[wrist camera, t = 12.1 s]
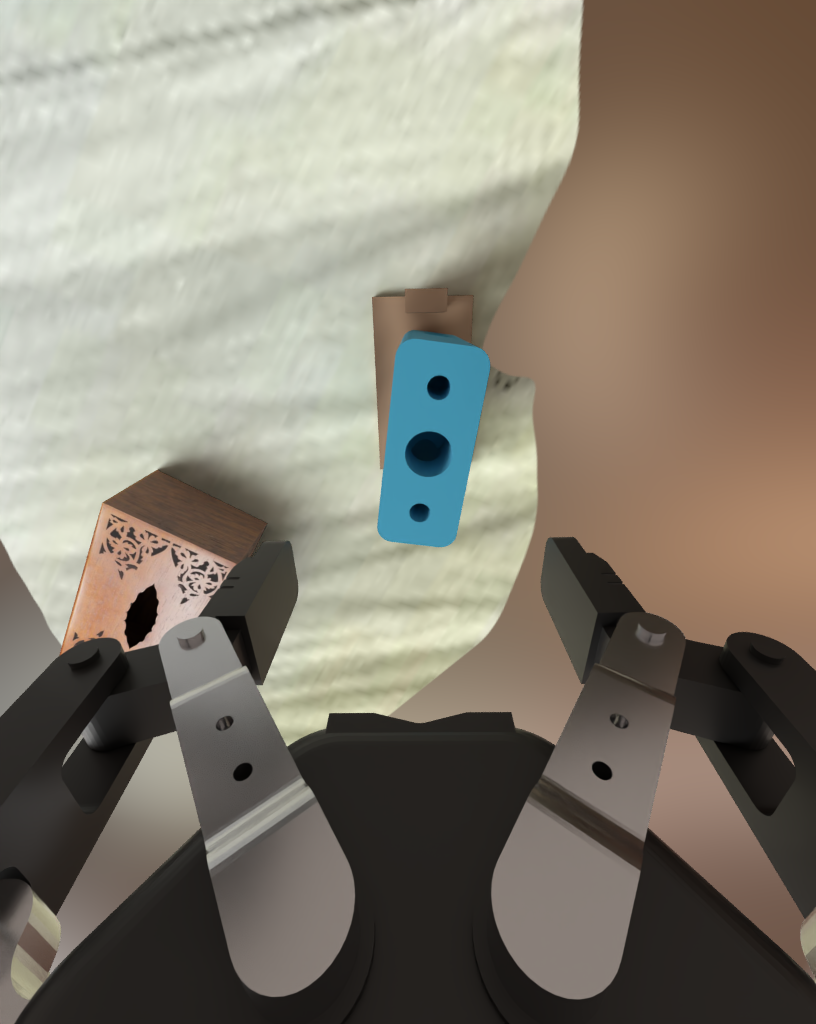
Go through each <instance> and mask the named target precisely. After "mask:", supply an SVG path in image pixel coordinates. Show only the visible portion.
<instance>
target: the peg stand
mask: <svg viewBox="0 0 816 1024" xmlns="http://www.w3.org/2000/svg"><path fill="white" fill-rule="evenodd" d="M447 291H448V288H432V289H405V296H402V297H372V305H373V325H374V346H375V367H376V388H377V409H378V430H379V451H380V469H383V468H384V459H385V449H386V440H387V430H388V420H389V411H390V401H391V392H392V382H393V373H394V363H395V355H396V351H397V349H398V347H399V345H400V343H401V341H402V339H403V337H404V335H405V334H406V333H407V332H408V331H411V330H420V331H427V332H434V333H441V334H449V335H454V336H457V337H459V338H461V339H463V340H465V341H467V342H469V343H471V336H472V315H473V295H457V296H447Z"/></svg>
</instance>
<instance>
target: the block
mask: <svg viewBox="0 0 816 1024" xmlns="http://www.w3.org/2000/svg"><path fill="white" fill-rule="evenodd" d="M489 372H490V360H489V358H488V355H487V354H486V353H485V351H483V350H482V349H480V348H478V347H476V346H475V345H473V344H471V343H469V342H467V341H465V340H463V339H461V338H459V337H457V336H454V335H449V334H441V333H434V332H427V331H420V330H411V331H408V332H407V333H406V334H405V335H404V337H403V339H402V341H401V343H400V345H399V347H398V349H397V351H396V355H395V363H394V373H393V382H392V392H391V401H390V411H389V420H388V430H387V440H386V449H385V459H384V468H383V478H382V487H381V497H380V506H379V516H378V525H377V528H378V532H379V534H380V536H381V537H382V538H383V539H385V540H387V541H391V542H399V543H407V544H416V545H425V546H433V547H445V546H448V545H450V544H451V543H452V542H453V541H454V540H455V538H456V535H457V530H458V525H459V520H460V515H461V510H462V505H463V500H464V495H465V490H466V485H467V480H468V475H469V471H470V466H471V461H472V456H473V451H474V446H475V441H476V436H477V431H478V426H479V421H480V416H481V411H482V406H483V401H484V397H485V392H486V387H487V382H488V377H489Z"/></svg>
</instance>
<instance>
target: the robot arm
mask: <svg viewBox="0 0 816 1024" xmlns="http://www.w3.org/2000/svg"><path fill="white" fill-rule="evenodd" d="M541 592H542V597H543V600H544V602H545V605H546V607H547V609H548V611H549V613H550V616H551V618H552V620H553V622H554V624H555V627H556V629H557V631H558V633H559V635H560V638H561V640H562V642H563V644H564V647H565V649H566V651H567V653H568V655H569V658H570V660H571V662H572V664H573V666H574V669H575V671H576V673H577V675H578V678H579V680H580V682H581V684H585V685H584V687H583V689H582V691H581V693H580V696H579V698H578V700H577V702H576V704H575V706H574V708H573V710H572V713H571V715H570V717H569V719H568V721H567V723H566V725H565V727H564V730H563V732H562V734H561V736H560V738H559V740H558V742H557V744H556V746H555V745H554V744H552V743H551V742H549V741H547V740H546V739H544V738H542V737H540V736H538V735H535V734H533V733H531V732H528V731H525V730H522V729H518V728H515V726H514V722H513V718H512V714H511V712H481V713H480V712H475V713H474V712H468V713H467V712H466V713H462V714H459V715H454V716H450V717H446V718H442V719H438V720H434V721H431V722H426V723H414V722H409V721H405V720H401V719H396V718H392V717H388V716H384V715H380V714H376V713H329V718H328V723H327V727H326V729H323V730H320V731H317V732H314V733H311V734H309V735H307V736H305V737H303V738H301V739H299V740H297V741H295V742H294V743H292V744H291V745H289V746H288V747H287V746H286V744H285V742H284V740H283V738H282V736H281V734H280V732H279V730H278V728H277V726H276V724H275V722H274V720H273V718H272V716H271V714H270V712H269V710H268V708H267V706H266V704H265V702H264V700H263V698H262V696H261V694H260V692H259V690H258V688H257V686H256V685H263V683H264V680H265V678H266V675H267V673H268V670H269V668H270V665H271V663H272V660H273V658H274V656H275V653H276V651H277V648H278V646H279V643H280V641H281V638H282V636H283V633H284V631H285V628H286V626H287V623H288V621H289V618H290V616H291V613H292V611H293V608H294V606H295V604H296V601H297V596H298V580H297V575H296V569H295V563H294V557H293V552H292V546H291V544H290V542H289V541H264V542H263V543H262V545H261V546H260V548H259V549H258V551H257V552H256V554H255V555H254V557H246V558H245V559H244V560H242V561H241V562H239V563H238V564H237V565H235V566H234V567H233V568H232V570H231V571H230V572H229V574H228V575H227V577H226V580H224V581H223V582H222V584H221V585H220V589H217V591H216V592H215V594H214V595H213V596H212V598H211V599H210V601H209V602H208V604H207V605H206V606H205V608H204V609H203V611H202V612H201V613H200V615H199V616H198V617H196V618H192V619H189V620H186V621H183V622H181V623H179V624H177V625H175V626H174V627H172V628H171V629H170V630H169V631H167V632H166V633H165V634H164V635H163V637H162V638H161V640H160V642H159V644H157V645H153V646H149V647H145V648H140V649H136V650H132V651H128V652H124V650H123V648H122V645H121V643H120V642H119V641H118V640H117V639H114V638H97V639H92V640H89V641H86V642H83V643H81V644H78V645H76V646H74V647H72V648H70V649H69V650H67V651H66V652H64V653H63V654H61V655H60V656H59V657H58V658H56V659H55V660H54V661H53V662H52V663H51V664H50V666H49V667H48V668H47V669H46V670H45V671H44V672H43V673H42V674H41V675H40V676H39V677H38V678H37V679H36V680H35V681H34V682H33V683H32V684H31V686H30V687H29V688H28V689H27V690H26V691H25V692H24V693H23V694H22V695H21V696H20V697H19V698H18V699H17V700H16V701H15V702H14V703H13V704H12V706H10V708H9V709H8V710H7V711H6V712H5V713H4V714H3V715H2V716H1V717H0V1024H816V671H815V670H814V669H813V668H812V667H811V666H810V665H809V664H808V663H807V662H806V661H805V660H804V659H803V658H802V657H801V656H800V655H799V654H797V653H796V652H795V651H794V650H792V649H791V648H789V647H788V646H786V645H784V644H783V643H781V642H779V641H777V640H774V639H772V638H769V637H766V636H763V635H759V634H756V633H750V632H738V633H734V634H731V635H730V636H729V637H728V638H727V640H726V643H725V645H724V647H720V646H714V645H710V644H705V643H700V642H695V641H691V640H687V639H685V636H684V634H683V633H682V632H681V630H680V629H679V628H678V627H677V626H676V625H674V624H673V623H671V622H670V621H668V620H666V619H664V618H662V617H660V616H657V615H654V614H650V613H646V612H645V611H644V609H643V608H642V607H641V605H640V604H639V603H638V601H637V600H636V599H635V598H634V596H633V595H632V594H631V592H630V591H629V590H628V588H627V587H626V586H625V585H624V584H622V581H621V579H620V578H619V577H618V576H617V575H615V572H614V571H613V569H612V568H611V567H610V565H609V564H608V563H607V562H606V561H604V560H603V559H602V558H600V557H598V556H597V555H595V554H594V553H586V552H585V551H584V549H583V548H582V546H581V545H580V544H579V543H578V541H577V540H576V539H575V538H574V537H559V538H558V537H554V538H548V540H547V542H546V547H545V555H544V562H543V568H542V576H541ZM670 729H673V730H677V731H680V732H684V733H687V734H691V735H695V736H696V738H697V740H698V741H699V743H700V745H701V746H702V748H703V750H704V751H705V753H706V754H707V756H708V758H709V760H710V761H711V763H712V764H713V766H714V768H715V770H716V771H717V773H718V775H719V776H720V778H721V779H722V781H723V783H724V785H725V786H726V788H727V790H728V791H729V793H730V795H731V796H732V798H733V800H734V801H735V803H736V805H737V806H738V808H739V810H740V811H741V813H742V815H743V816H744V818H745V820H746V821H747V823H748V825H749V826H750V828H751V830H752V831H753V833H754V835H755V836H756V838H757V840H758V841H759V843H760V845H761V846H762V848H763V850H764V851H765V853H766V854H767V856H768V858H769V860H770V861H771V863H772V865H773V866H774V868H775V870H776V871H777V873H778V875H779V876H780V878H781V880H782V881H783V883H784V885H785V886H786V888H787V890H788V891H789V893H790V895H791V896H792V898H793V900H794V901H795V903H796V905H797V906H798V908H799V910H800V911H801V913H802V915H803V917H804V918H805V920H804V922H803V923H802V926H801V930H800V932H801V933H800V939H801V945H802V949H803V952H804V955H805V958H806V960H807V962H808V964H809V966H810V969H811V971H812V973H813V975H814V980H813V979H812V978H811V977H810V976H809V975H808V974H807V973H806V972H805V971H804V970H803V969H802V968H801V967H800V966H799V965H798V964H797V963H796V962H795V961H794V960H793V959H792V958H791V957H790V956H789V955H788V954H786V953H785V952H784V951H783V950H782V949H781V948H780V947H779V946H778V945H777V944H775V943H774V942H773V941H772V940H771V939H770V938H769V937H768V936H767V935H766V934H764V933H763V932H762V931H761V930H760V929H759V928H758V927H757V926H756V925H754V923H752V922H751V921H750V920H749V919H748V918H747V917H746V916H745V915H744V914H742V913H741V912H740V911H739V910H738V909H737V908H736V907H735V906H734V905H733V904H732V903H730V902H729V901H728V900H727V899H726V898H725V897H724V896H723V895H721V893H719V892H718V891H717V890H716V889H715V888H714V887H713V886H712V885H710V883H708V882H707V881H706V880H705V879H704V878H703V877H702V876H701V875H700V874H699V873H697V872H696V871H695V870H694V869H693V868H692V867H691V866H690V865H689V864H687V863H686V862H685V861H684V860H683V859H682V858H681V857H680V856H679V855H678V854H676V853H675V852H674V851H673V850H672V849H671V848H670V847H669V846H668V845H666V844H665V843H664V842H663V841H662V840H661V839H660V838H659V837H658V836H657V835H655V834H654V833H653V832H652V831H651V830H650V829H649V828H648V823H649V819H650V815H651V811H652V806H653V802H654V797H655V792H656V788H657V784H658V779H659V775H660V770H661V766H662V761H663V757H664V752H665V747H666V743H667V739H668V734H669V730H670ZM174 731H177V734H178V738H179V742H180V746H181V750H182V754H183V758H184V762H185V766H186V770H187V774H188V778H189V782H190V786H191V790H192V794H193V798H194V802H195V806H196V810H197V814H198V818H199V822H200V826H201V828H200V829H199V830H198V831H197V832H196V833H195V834H194V835H193V836H192V837H191V838H190V839H188V840H187V841H186V842H185V843H184V844H183V845H182V846H181V847H180V848H179V849H178V850H177V851H176V852H175V853H174V854H173V855H172V856H171V857H170V858H169V859H168V860H167V861H166V862H164V864H162V865H161V866H160V867H159V868H158V869H157V870H156V871H155V872H154V873H153V874H152V875H151V876H150V877H149V878H148V879H147V880H146V881H145V882H144V883H143V884H142V885H141V886H140V887H138V889H137V890H135V891H134V892H133V893H132V894H131V895H130V896H129V897H128V898H127V899H126V900H125V901H124V902H123V903H122V904H121V905H120V906H119V907H118V908H117V909H116V910H115V911H113V913H111V914H110V915H109V916H108V917H107V918H106V919H105V920H104V921H103V922H102V923H101V924H100V925H99V926H98V927H97V928H96V929H95V930H94V931H93V932H92V933H91V934H89V935H88V936H87V938H85V939H84V940H83V941H82V942H81V943H80V944H79V945H78V946H77V947H76V948H75V949H74V950H73V951H72V952H71V953H70V954H69V955H68V956H67V957H66V958H65V959H64V960H63V961H62V962H61V963H60V964H59V965H58V966H57V967H56V968H55V969H54V971H53V972H52V973H51V974H50V972H49V970H50V968H51V966H52V963H53V960H54V958H55V956H56V953H57V950H58V947H59V943H60V937H61V927H60V923H59V920H58V918H57V917H56V915H57V913H58V911H59V909H60V908H61V906H62V904H63V902H64V900H65V898H66V896H67V895H68V893H69V891H70V889H71V887H72V886H73V884H74V882H75V880H76V878H77V876H78V875H79V873H80V871H81V869H82V867H83V865H84V864H85V862H86V860H87V858H88V856H89V855H90V853H91V851H92V849H93V847H94V845H95V844H96V842H97V840H98V838H99V836H100V834H101V832H102V831H103V829H104V827H105V825H106V823H107V822H108V820H109V818H110V816H111V814H112V812H113V810H114V809H115V807H116V805H117V803H118V801H119V800H120V797H121V796H122V794H123V792H124V790H125V788H126V787H127V785H128V783H129V781H130V779H131V777H132V776H133V774H134V772H135V770H136V769H137V767H138V765H139V763H140V761H141V759H142V758H143V756H144V754H145V752H146V750H147V748H148V746H149V745H150V743H151V741H152V739H153V737H156V736H160V735H164V734H167V733H170V732H174ZM81 734H82V736H83V739H82V740H81V742H80V743H79V744H78V746H77V747H76V749H75V750H74V752H73V753H72V754H71V756H70V757H69V758H68V760H67V761H66V763H65V764H64V765H63V762H64V759H65V757H66V755H67V753H68V752H69V750H70V749H71V747H72V746H73V744H74V743H75V742H76V740H77V739H78V738H79V736H80V735H81ZM774 734H775V735H776V737H777V738H778V739H779V740H780V742H781V743H782V744H783V745H784V747H785V748H786V749H787V751H788V752H789V754H790V755H791V757H792V760H793V762H794V765H795V767H794V765H793V764H792V763H791V761H790V760H789V759H788V758H787V756H786V755H785V754H784V752H783V751H782V750H781V749H780V747H779V746H778V745H777V743H776V742H775V741H774V739H773V738H772V737H773V735H774ZM62 765H63V767H62Z"/></svg>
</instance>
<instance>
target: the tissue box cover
mask: <svg viewBox="0 0 816 1024" xmlns="http://www.w3.org/2000/svg"><path fill="white" fill-rule="evenodd" d="M266 525H267V523H266V522H264V521H261V520H259V519H257V518H255V517H253V516H251V515H249V514H247V513H245V512H243V511H241V510H239V509H237V508H235V507H233V506H231V505H229V504H226V503H224V502H222V501H220V500H218V499H216V498H214V497H212V496H210V495H208V494H206V493H204V492H202V491H200V490H198V489H196V488H194V487H191V486H189V485H187V484H185V483H183V482H181V481H179V480H177V479H175V478H173V477H171V476H169V475H167V474H165V473H163V472H161V471H159V470H156V471H154V472H153V473H151V474H149V475H148V476H146V477H144V478H143V479H141V480H139V481H138V482H136V483H134V484H133V485H131V486H129V487H128V488H126V489H124V490H123V491H121V492H119V493H118V494H116V495H114V496H113V497H111V498H109V499H108V500H106V501H104V502H103V503H102V506H101V510H100V513H99V517H98V520H97V524H96V528H95V531H94V535H93V538H92V542H91V545H90V549H89V552H88V556H87V559H86V563H85V567H84V570H83V574H82V577H81V581H80V584H79V588H78V591H77V595H76V599H75V602H74V606H73V609H72V613H71V616H70V620H69V623H68V627H67V631H66V634H65V638H64V641H63V645H62V648H61V652H60V655H61V654H63V653H64V652H66V651H67V650H69V649H70V648H72V647H74V646H76V645H78V644H81V643H83V642H86V641H89V640H92V639H97V638H114V639H117V640H118V641H119V642H120V643H121V645H122V648H123V650H124V652H128V651H132V650H136V649H140V648H145V647H149V646H153V645H157V644H159V642H160V640H161V638H162V637H163V635H164V634H165V633H166V632H167V631H169V630H170V629H171V628H172V627H174V626H175V625H177V624H179V623H181V622H183V621H186V620H189V619H192V618H196V617H198V616H199V615H200V613H201V612H202V611H203V609H204V608H205V606H206V605H207V604H208V602H209V601H210V599H211V598H212V596H213V595H214V594H215V592H216V591H217V589H220V585H221V584H222V582H223V581H224V580H226V577H227V575H228V574H229V572H230V571H231V570H232V568H233V567H234V566H235V565H237V564H238V563H239V562H241V561H242V560H244V559H245V558H246V557H251V556H252V554H253V552H254V550H255V548H256V546H257V544H258V542H259V539H260V537H261V535H262V533H263V531H264V529H265V527H266Z"/></svg>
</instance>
